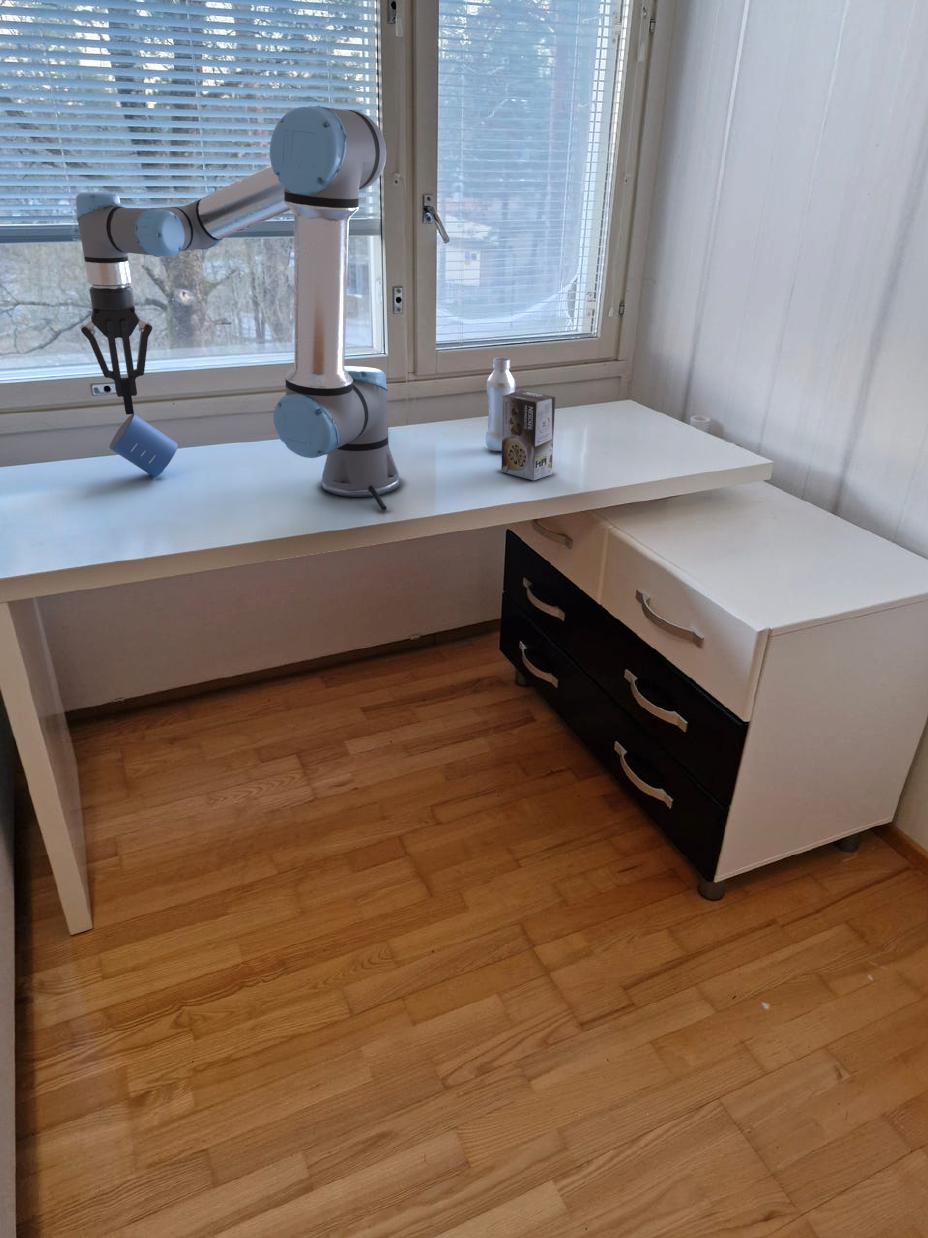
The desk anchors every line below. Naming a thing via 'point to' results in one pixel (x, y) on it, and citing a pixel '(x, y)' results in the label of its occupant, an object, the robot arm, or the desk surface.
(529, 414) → the coffee box
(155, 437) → the measuring cup
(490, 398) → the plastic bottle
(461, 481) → the desk surface
